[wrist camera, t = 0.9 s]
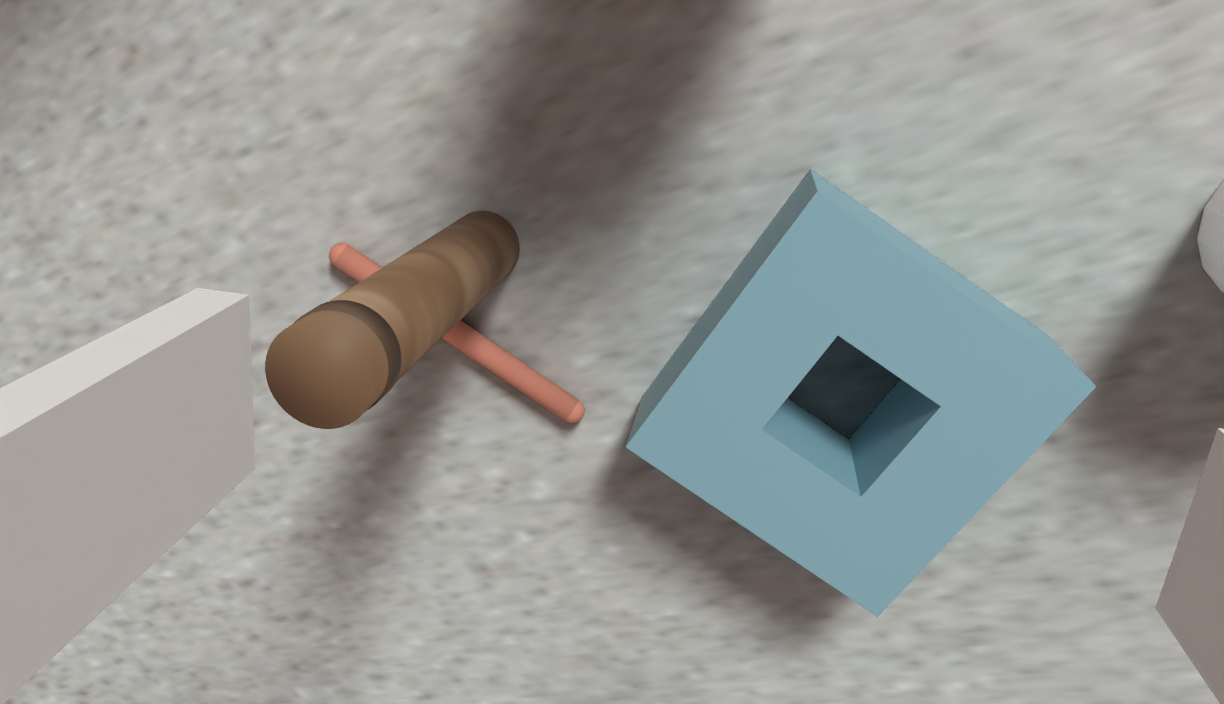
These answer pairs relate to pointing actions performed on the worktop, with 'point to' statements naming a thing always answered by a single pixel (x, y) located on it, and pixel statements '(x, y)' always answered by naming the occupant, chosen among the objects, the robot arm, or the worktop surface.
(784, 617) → the worktop surface
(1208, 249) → the white cylinder
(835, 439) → the blue square hole block
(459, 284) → the round wooden peg
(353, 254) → the salmon red rod
